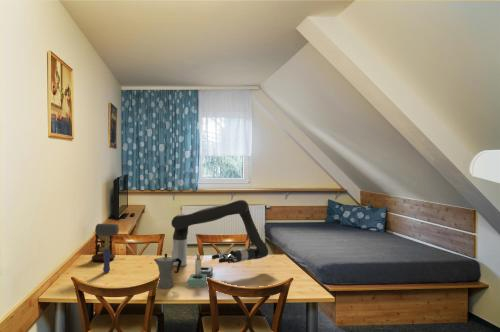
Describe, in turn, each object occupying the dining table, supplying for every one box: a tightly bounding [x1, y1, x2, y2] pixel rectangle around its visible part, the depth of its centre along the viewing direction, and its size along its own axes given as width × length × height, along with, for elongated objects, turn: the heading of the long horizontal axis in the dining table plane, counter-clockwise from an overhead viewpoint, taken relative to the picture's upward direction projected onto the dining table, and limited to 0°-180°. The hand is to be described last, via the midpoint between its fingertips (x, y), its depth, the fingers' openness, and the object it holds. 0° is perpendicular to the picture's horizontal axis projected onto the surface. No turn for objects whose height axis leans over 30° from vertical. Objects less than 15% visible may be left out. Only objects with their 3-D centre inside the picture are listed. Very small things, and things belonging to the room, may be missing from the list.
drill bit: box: [194, 253, 202, 279], centre depth 204 cm, size 3×3×17 cm
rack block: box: [187, 273, 207, 288], centre depth 204 cm, size 9×9×4 cm
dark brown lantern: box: [91, 233, 116, 262], centre depth 247 cm, size 15×15×20 cm
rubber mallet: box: [95, 222, 120, 273], centre depth 221 cm, size 12×8×30 cm, turn 93°
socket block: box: [201, 265, 214, 277], centre depth 219 cm, size 9×9×4 cm
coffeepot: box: [153, 253, 182, 290], centre depth 200 cm, size 15×9×18 cm, turn 90°
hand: (215, 259), depth 211 cm, fingers open, 8 cm apart
